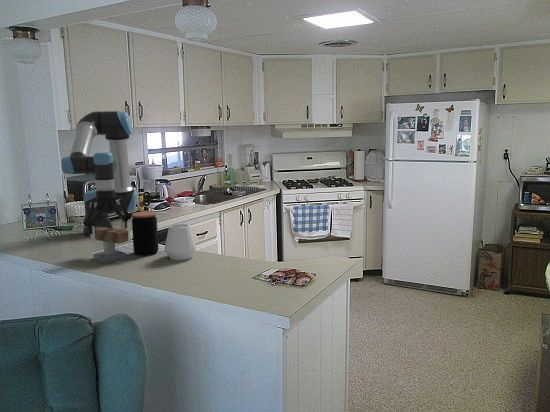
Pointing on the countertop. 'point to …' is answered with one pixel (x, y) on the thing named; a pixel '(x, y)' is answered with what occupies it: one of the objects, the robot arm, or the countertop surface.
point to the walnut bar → (110, 235)
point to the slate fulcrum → (109, 253)
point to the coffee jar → (145, 233)
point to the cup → (180, 242)
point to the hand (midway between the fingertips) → (108, 238)
